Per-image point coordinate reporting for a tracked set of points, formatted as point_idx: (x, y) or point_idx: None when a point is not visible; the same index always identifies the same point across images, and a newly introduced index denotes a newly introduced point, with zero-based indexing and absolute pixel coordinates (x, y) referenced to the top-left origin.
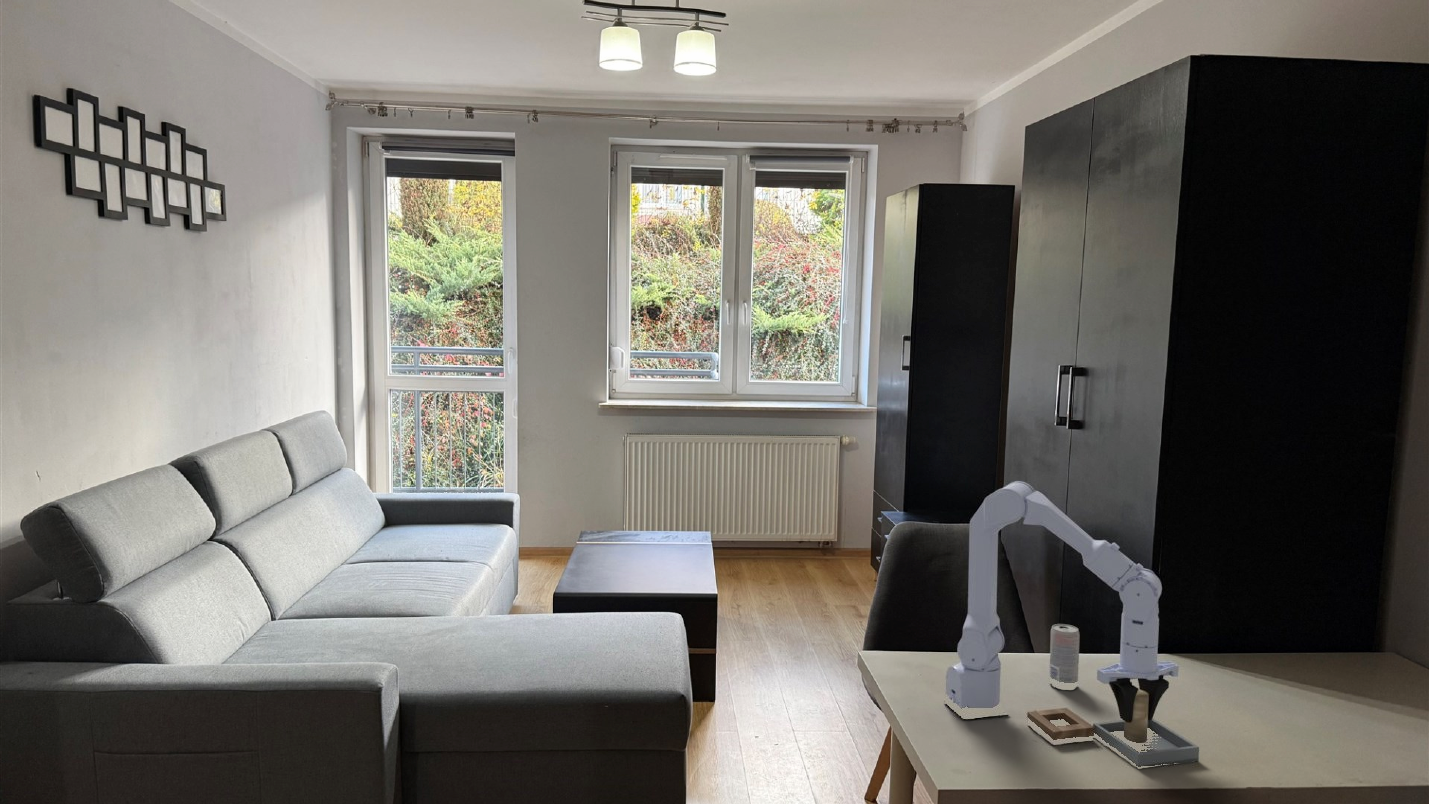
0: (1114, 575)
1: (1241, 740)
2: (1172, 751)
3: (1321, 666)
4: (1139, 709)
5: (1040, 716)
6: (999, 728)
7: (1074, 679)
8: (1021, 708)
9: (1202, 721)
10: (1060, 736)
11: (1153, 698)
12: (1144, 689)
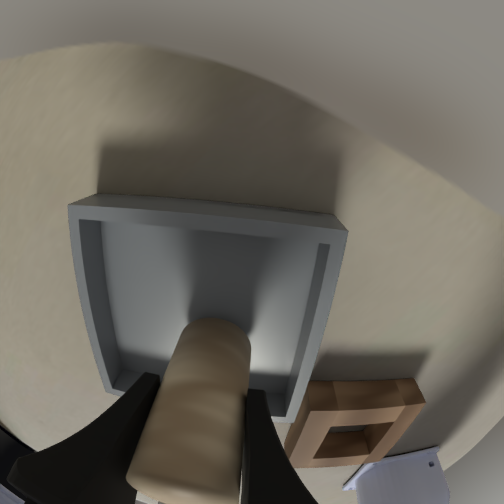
0: None
1: None
2: (176, 211)
3: None
4: (213, 427)
5: (377, 451)
6: (421, 431)
7: None
8: (320, 472)
9: (12, 336)
10: (404, 395)
11: (114, 449)
12: (126, 490)
